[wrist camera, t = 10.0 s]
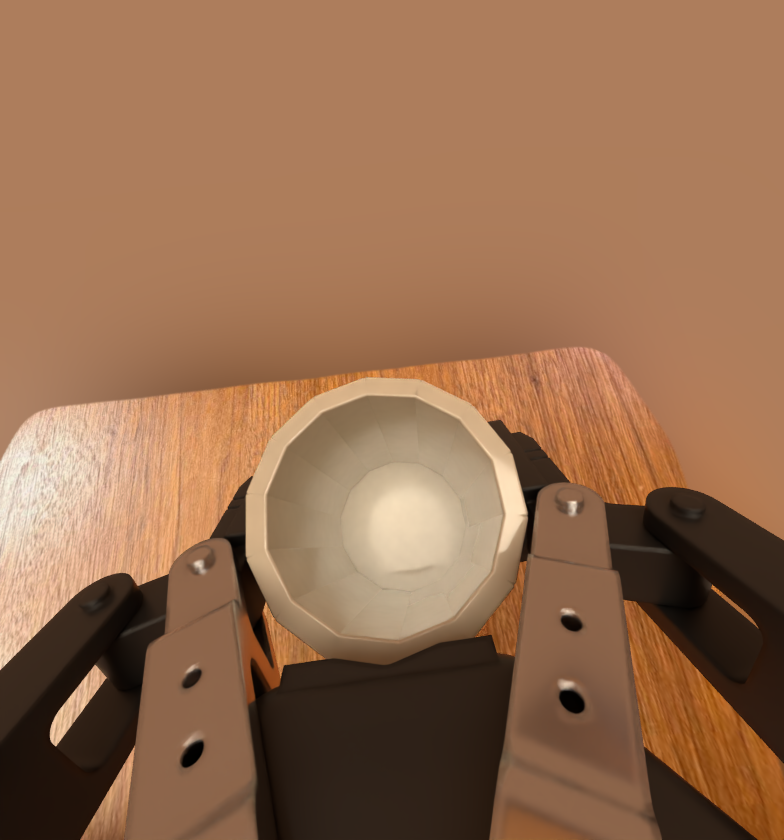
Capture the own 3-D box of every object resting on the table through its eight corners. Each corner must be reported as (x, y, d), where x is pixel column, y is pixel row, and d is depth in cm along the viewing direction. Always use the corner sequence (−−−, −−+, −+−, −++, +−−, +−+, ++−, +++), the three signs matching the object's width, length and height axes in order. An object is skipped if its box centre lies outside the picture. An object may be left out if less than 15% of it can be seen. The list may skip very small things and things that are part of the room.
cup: (378, 431, 17) (339, 338, 9) (500, 498, 15) (575, 453, 8) (305, 548, 15) (187, 554, 8) (432, 635, 14) (441, 749, 6)
